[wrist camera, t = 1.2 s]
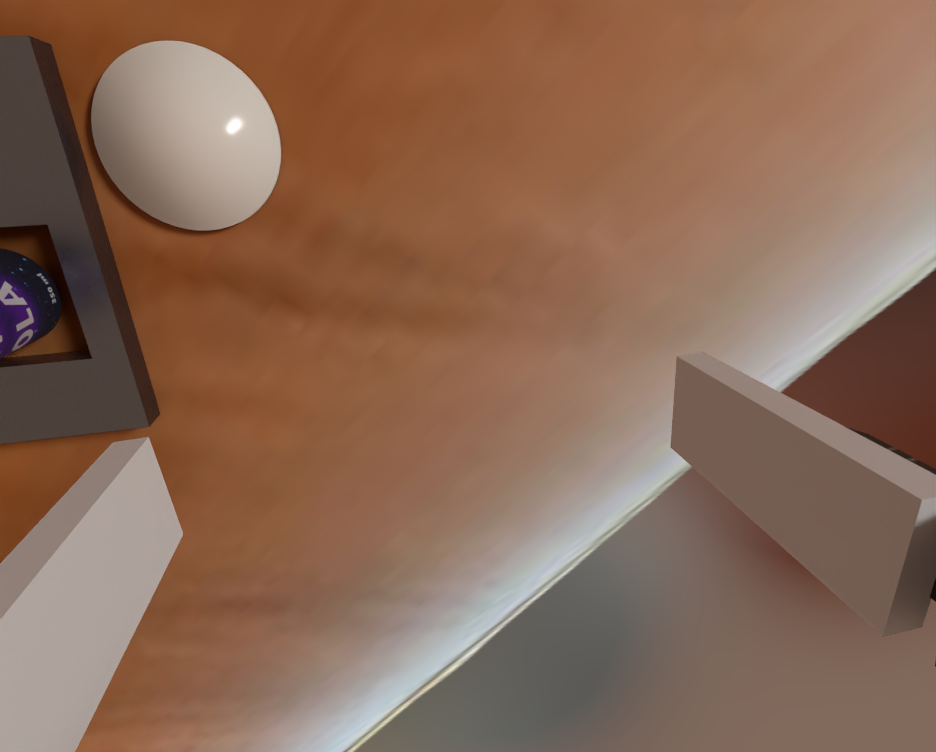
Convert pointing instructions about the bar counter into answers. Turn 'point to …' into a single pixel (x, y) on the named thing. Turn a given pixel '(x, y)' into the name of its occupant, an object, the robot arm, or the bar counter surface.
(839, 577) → the robot arm
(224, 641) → the bar counter surface
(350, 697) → the bar counter surface
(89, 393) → the grey board with hole
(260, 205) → the coaster
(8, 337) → the beverage can
